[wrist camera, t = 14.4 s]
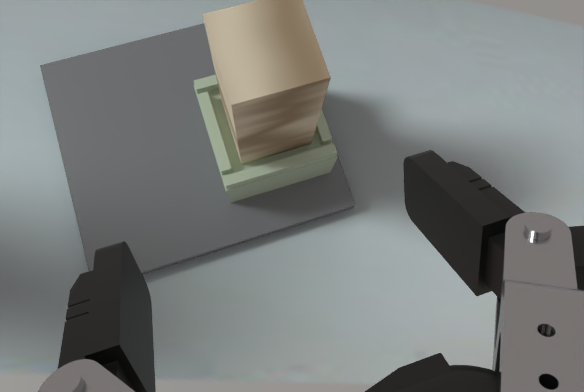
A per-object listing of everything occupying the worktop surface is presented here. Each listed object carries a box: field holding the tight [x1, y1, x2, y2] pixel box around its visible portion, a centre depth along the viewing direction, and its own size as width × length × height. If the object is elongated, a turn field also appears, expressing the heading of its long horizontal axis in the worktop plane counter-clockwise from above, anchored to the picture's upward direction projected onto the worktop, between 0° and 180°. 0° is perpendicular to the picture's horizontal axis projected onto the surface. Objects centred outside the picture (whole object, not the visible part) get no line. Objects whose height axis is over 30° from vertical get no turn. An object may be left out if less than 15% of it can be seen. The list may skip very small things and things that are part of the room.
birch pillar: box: [203, 0, 331, 164], centre depth 28 cm, size 5×5×10 cm
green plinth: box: [194, 75, 338, 203], centre depth 35 cm, size 8×8×5 cm
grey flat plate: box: [40, 24, 355, 274], centre depth 37 cm, size 20×18×1 cm
